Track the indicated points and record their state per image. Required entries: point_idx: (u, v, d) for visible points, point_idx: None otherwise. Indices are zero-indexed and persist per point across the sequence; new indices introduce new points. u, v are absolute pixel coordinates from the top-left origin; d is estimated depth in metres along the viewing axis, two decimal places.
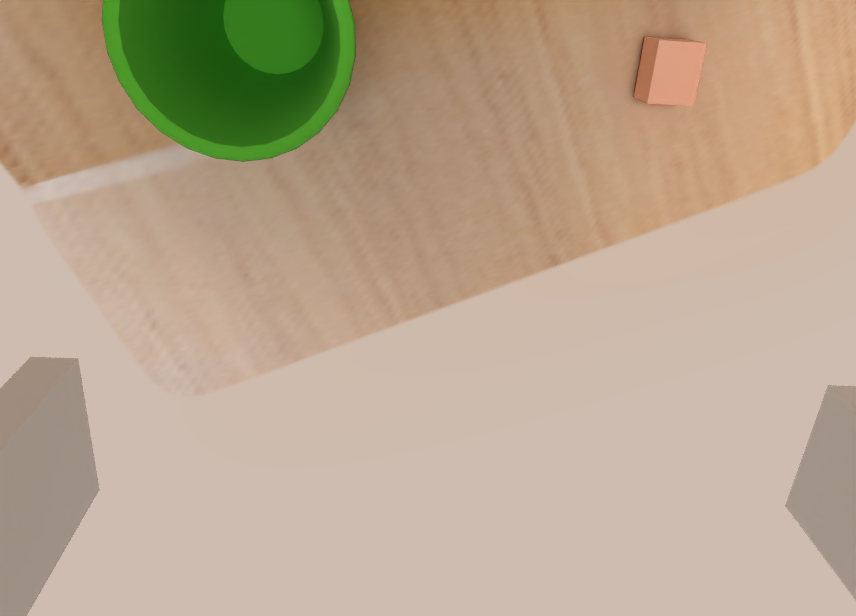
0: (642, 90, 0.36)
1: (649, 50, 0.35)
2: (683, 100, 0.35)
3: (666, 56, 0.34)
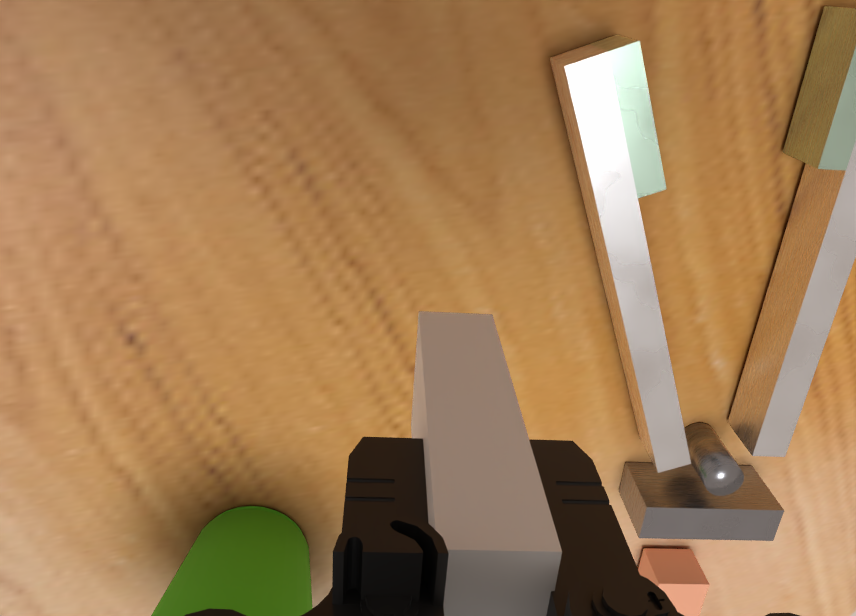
0: None
1: (648, 574, 0.34)
2: None
3: None
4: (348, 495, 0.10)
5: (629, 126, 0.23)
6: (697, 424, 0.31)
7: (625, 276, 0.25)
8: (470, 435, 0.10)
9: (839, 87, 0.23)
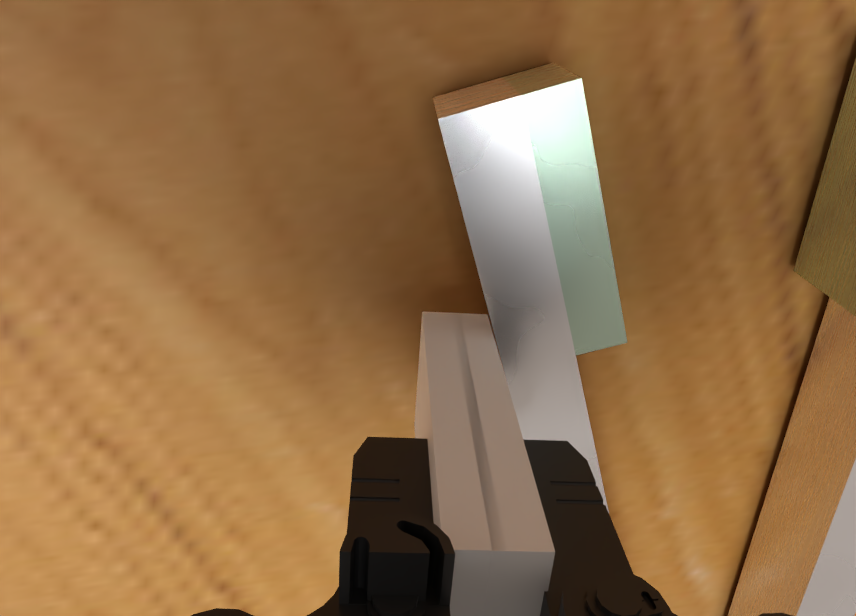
0: None
1: None
2: None
3: None
4: (353, 495, 0.10)
5: (562, 233, 0.12)
6: None
7: None
8: (475, 435, 0.10)
9: None
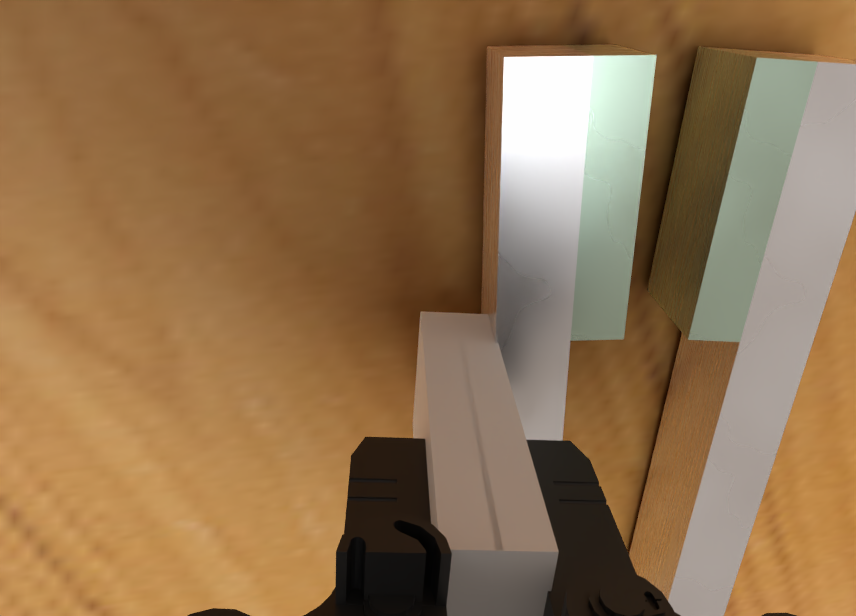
0: None
1: None
2: None
3: None
4: (351, 495, 0.10)
5: (593, 210, 0.12)
6: None
7: None
8: (472, 435, 0.10)
9: (717, 199, 0.12)
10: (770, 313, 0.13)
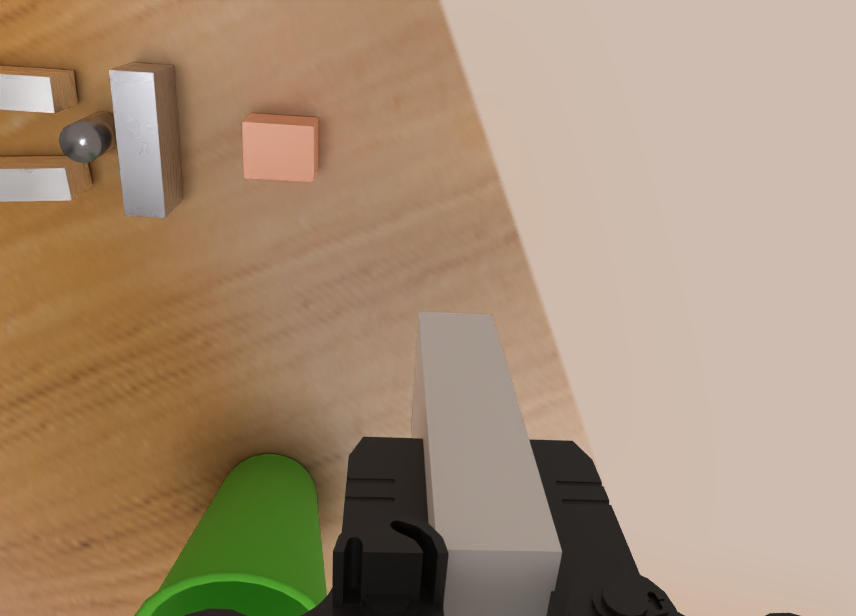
0: None
1: None
2: (308, 140, 0.30)
3: (260, 167, 0.30)
4: (348, 495, 0.10)
5: None
6: None
7: None
8: (470, 435, 0.10)
9: None
10: None
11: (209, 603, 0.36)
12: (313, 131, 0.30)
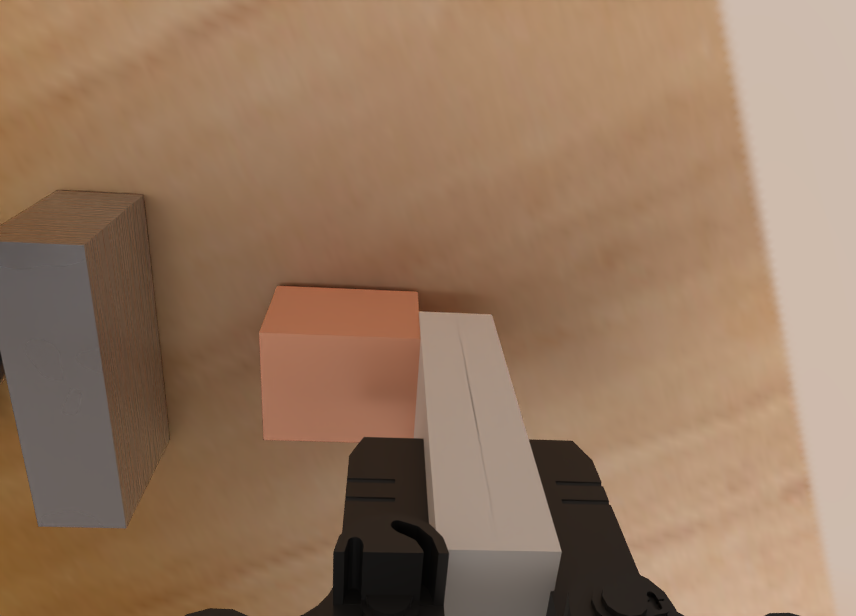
0: None
1: None
2: (405, 365, 0.13)
3: (299, 419, 0.14)
4: (349, 495, 0.10)
5: None
6: None
7: None
8: (470, 435, 0.10)
9: None
10: None
11: None
12: (418, 347, 0.13)
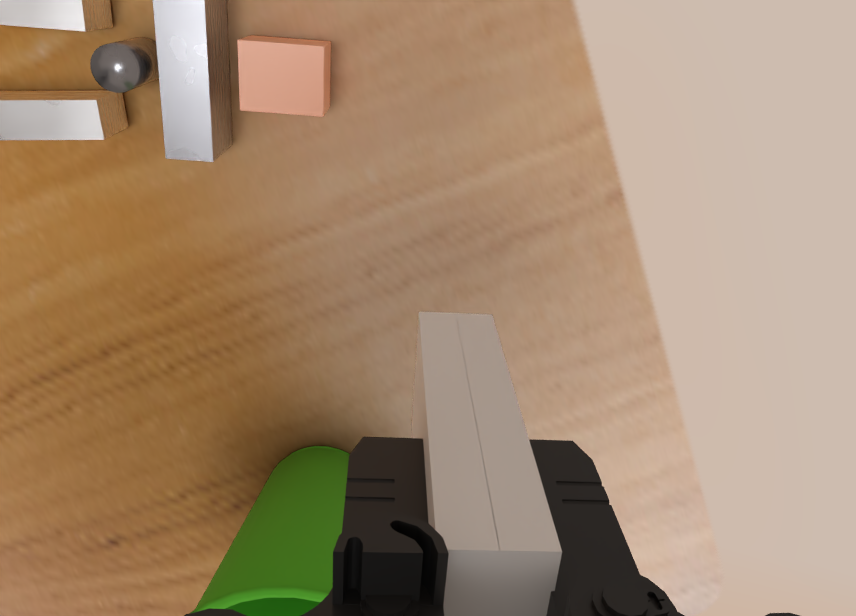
0: None
1: None
2: (316, 63, 0.25)
3: (259, 97, 0.25)
4: (348, 495, 0.10)
5: None
6: None
7: None
8: (470, 435, 0.10)
9: None
10: None
11: None
12: (323, 52, 0.25)
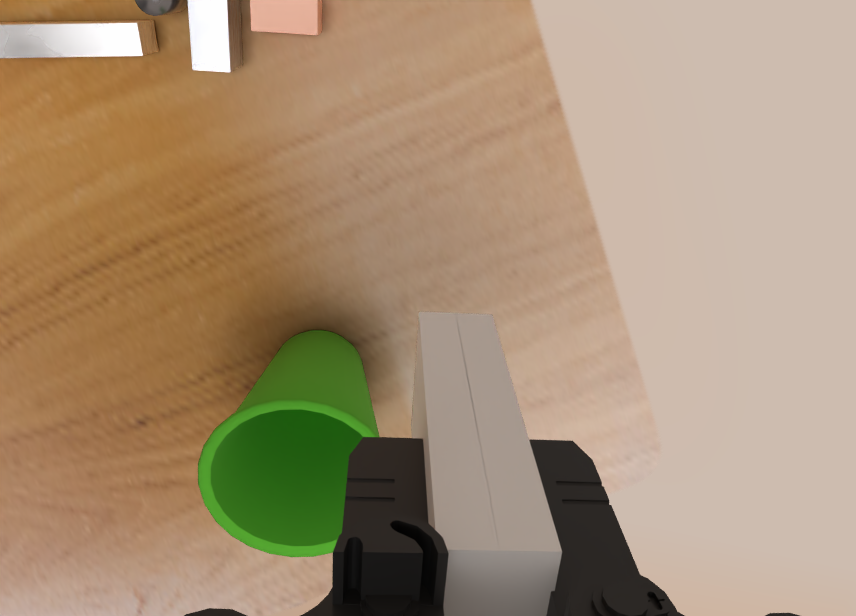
0: None
1: None
2: None
3: (266, 19, 0.32)
4: (348, 495, 0.10)
5: None
6: None
7: None
8: (470, 435, 0.10)
9: None
10: None
11: (266, 459, 0.38)
12: None
